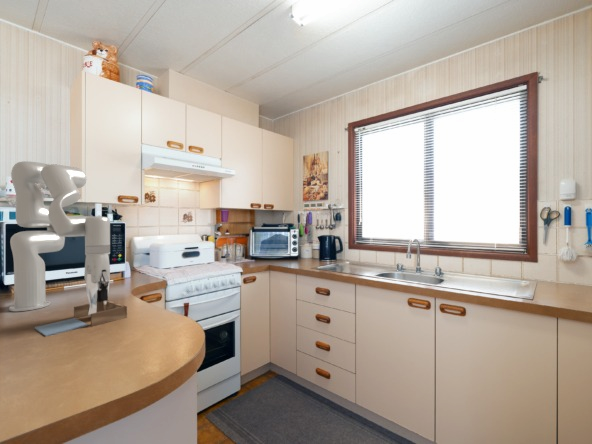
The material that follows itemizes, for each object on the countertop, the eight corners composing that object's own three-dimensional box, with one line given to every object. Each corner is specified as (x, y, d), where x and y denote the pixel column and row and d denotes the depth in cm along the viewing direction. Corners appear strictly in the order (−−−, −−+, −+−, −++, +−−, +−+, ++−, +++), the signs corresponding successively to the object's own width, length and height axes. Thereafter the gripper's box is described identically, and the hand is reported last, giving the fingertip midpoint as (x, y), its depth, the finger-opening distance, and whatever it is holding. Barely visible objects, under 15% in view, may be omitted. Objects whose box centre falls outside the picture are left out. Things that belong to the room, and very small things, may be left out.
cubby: (74, 317, 106) (73, 306, 106) (107, 310, 115) (107, 300, 115) (92, 326, 96) (91, 314, 96) (126, 317, 105) (126, 306, 105)
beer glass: (113, 311, 107) (113, 271, 107) (93, 317, 101) (93, 274, 101) (102, 309, 110) (101, 270, 110) (82, 315, 104) (81, 273, 104)
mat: (34, 328, 95) (34, 327, 95) (74, 319, 104) (74, 318, 104) (45, 336, 88) (45, 335, 88) (87, 325, 97) (87, 324, 97)
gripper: (76, 250, 107) (76, 298, 107) (96, 252, 97) (96, 306, 97) (99, 248, 113) (99, 294, 113) (120, 250, 103) (120, 300, 103)
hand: (98, 299), depth 105 cm, fingers closed on beer glass, 6 cm apart
